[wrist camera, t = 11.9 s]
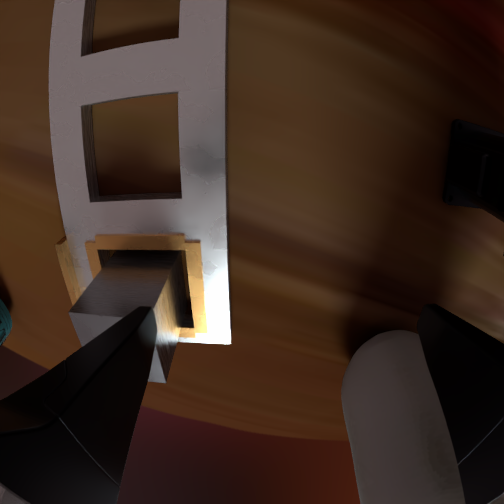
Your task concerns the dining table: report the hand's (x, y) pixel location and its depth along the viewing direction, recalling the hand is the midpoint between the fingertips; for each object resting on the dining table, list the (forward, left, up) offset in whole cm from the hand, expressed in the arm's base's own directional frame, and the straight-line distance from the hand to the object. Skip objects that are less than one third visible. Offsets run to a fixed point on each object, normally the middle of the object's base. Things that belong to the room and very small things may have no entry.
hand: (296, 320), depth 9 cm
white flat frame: (+9, -4, -12) cm, 16 cm away
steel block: (+9, +6, -12) cm, 16 cm away
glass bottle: (-11, +14, -12) cm, 22 cm away
